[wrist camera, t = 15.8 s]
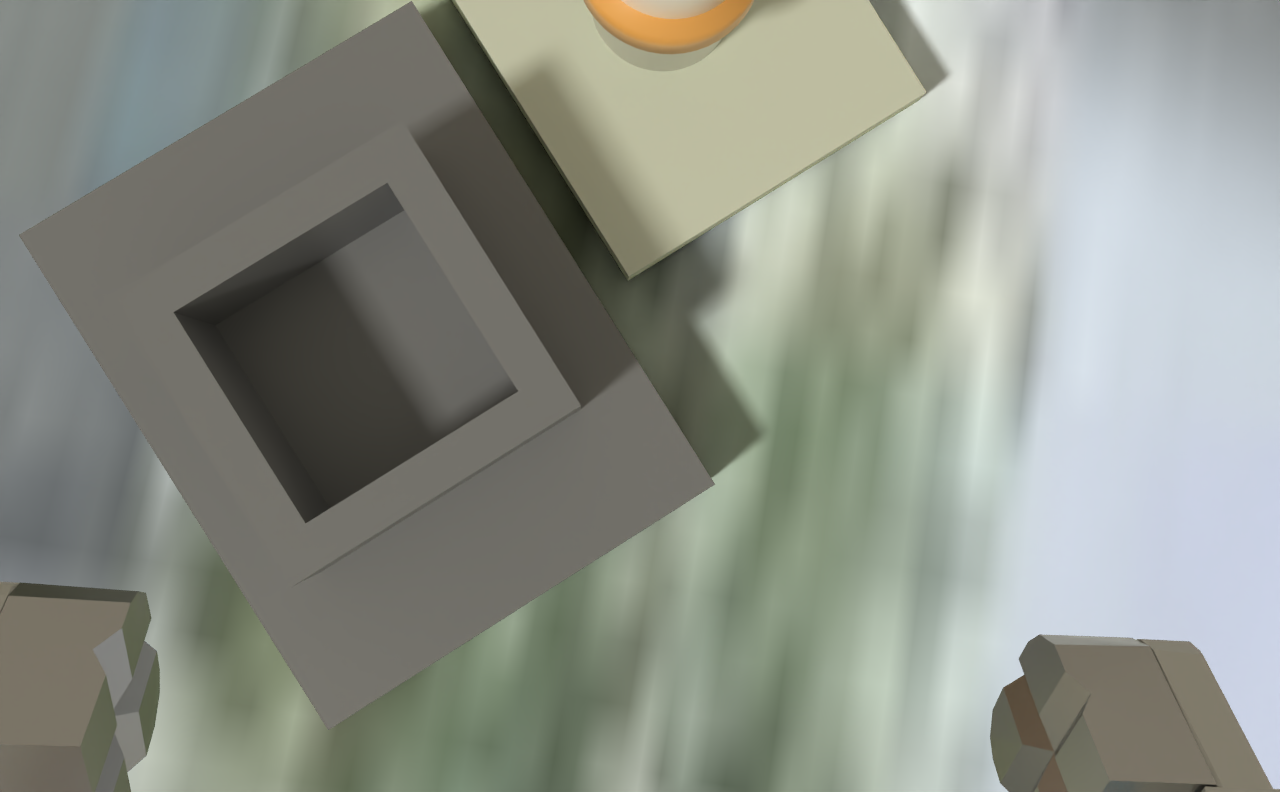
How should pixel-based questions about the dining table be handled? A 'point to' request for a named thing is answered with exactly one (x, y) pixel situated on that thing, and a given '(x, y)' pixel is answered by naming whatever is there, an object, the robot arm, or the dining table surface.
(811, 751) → the dining table surface
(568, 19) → the mat
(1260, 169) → the dining table surface
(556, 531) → the socket
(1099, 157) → the dining table surface
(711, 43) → the plug
